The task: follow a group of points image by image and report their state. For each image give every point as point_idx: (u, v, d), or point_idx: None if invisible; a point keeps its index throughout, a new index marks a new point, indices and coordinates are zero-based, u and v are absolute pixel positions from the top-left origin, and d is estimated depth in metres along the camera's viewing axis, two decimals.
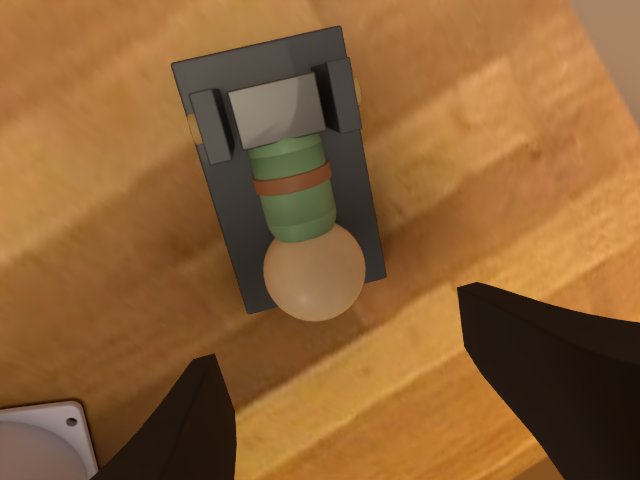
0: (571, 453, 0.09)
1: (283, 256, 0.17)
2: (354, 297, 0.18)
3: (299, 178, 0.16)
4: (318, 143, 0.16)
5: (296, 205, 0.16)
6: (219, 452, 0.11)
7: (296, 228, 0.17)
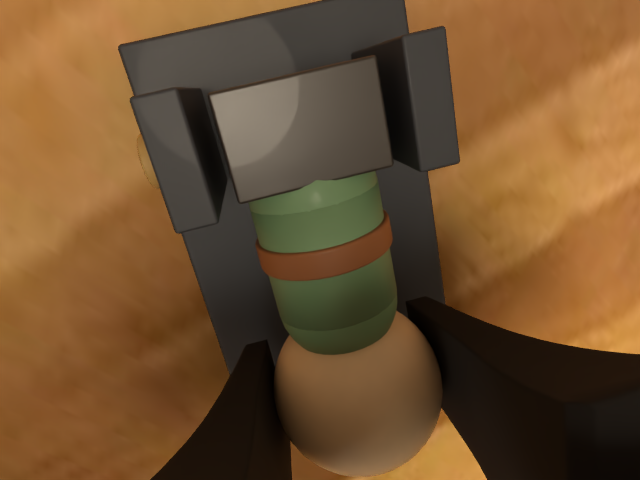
0: (501, 475, 0.09)
1: (309, 379, 0.10)
2: (427, 439, 0.11)
3: (342, 251, 0.09)
4: (374, 186, 0.09)
5: (334, 298, 0.09)
6: (279, 435, 0.11)
7: (333, 335, 0.09)
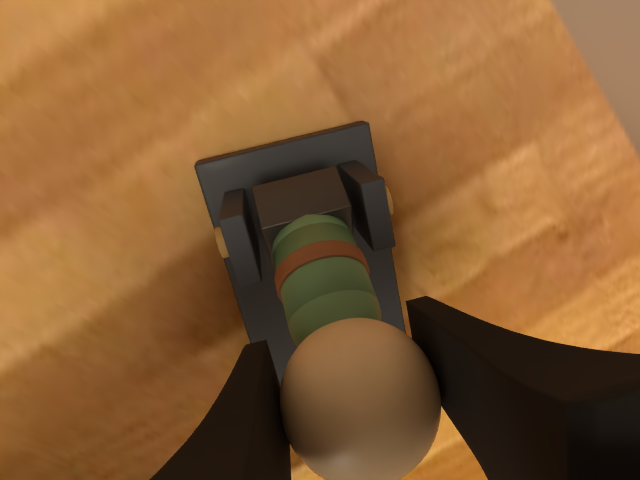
0: (501, 474, 0.09)
1: (302, 344, 0.12)
2: (420, 404, 0.10)
3: (322, 246, 0.13)
4: (346, 228, 0.15)
5: (318, 274, 0.13)
6: (279, 435, 0.11)
7: (319, 303, 0.12)
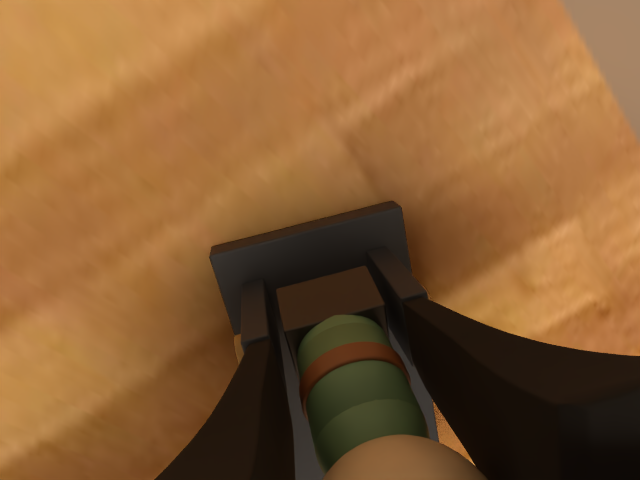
0: (496, 476, 0.09)
1: (331, 469, 0.09)
2: None
3: (353, 348, 0.12)
4: (381, 330, 0.13)
5: (349, 381, 0.11)
6: (283, 433, 0.11)
7: (352, 416, 0.10)
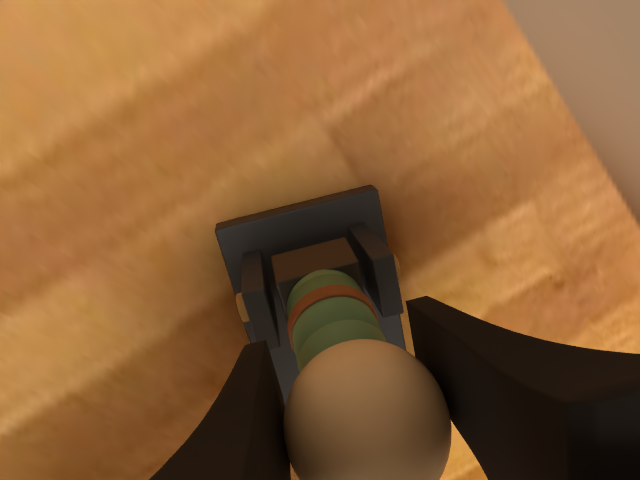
0: (502, 474, 0.09)
1: None
2: (421, 401, 0.10)
3: (329, 289, 0.15)
4: (355, 282, 0.16)
5: (325, 309, 0.14)
6: (278, 435, 0.11)
7: (325, 331, 0.13)
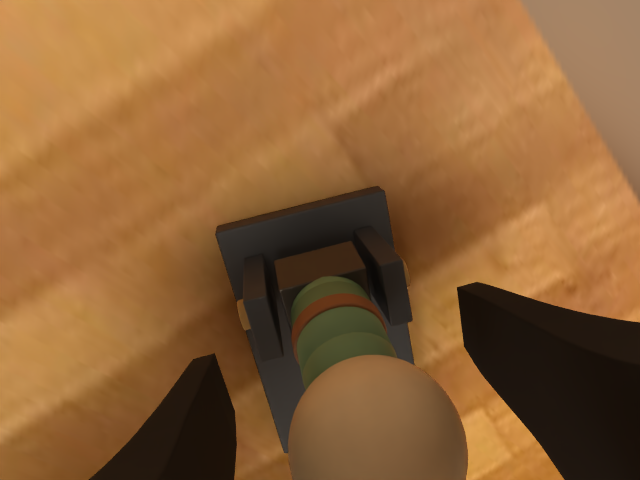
0: (571, 453, 0.09)
1: (313, 381, 0.11)
2: (436, 426, 0.09)
3: (336, 298, 0.14)
4: (362, 289, 0.15)
5: (331, 320, 0.13)
6: (219, 452, 0.11)
7: (332, 344, 0.12)
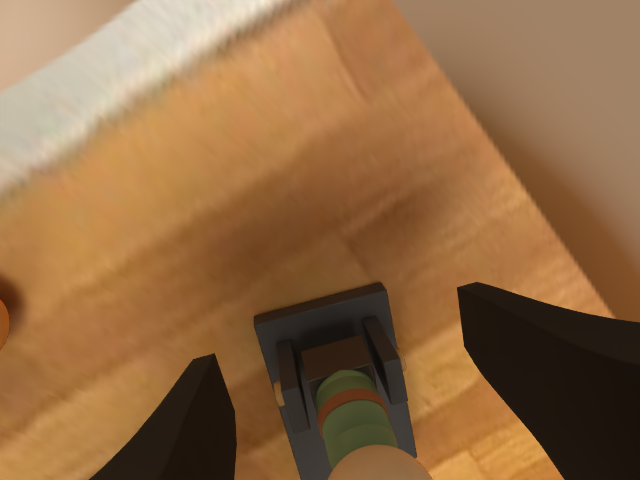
0: (571, 453, 0.09)
1: (337, 464, 0.16)
2: None
3: (351, 392, 0.19)
4: (370, 380, 0.20)
5: (348, 413, 0.18)
6: (219, 452, 0.11)
7: (349, 434, 0.17)
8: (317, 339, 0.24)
